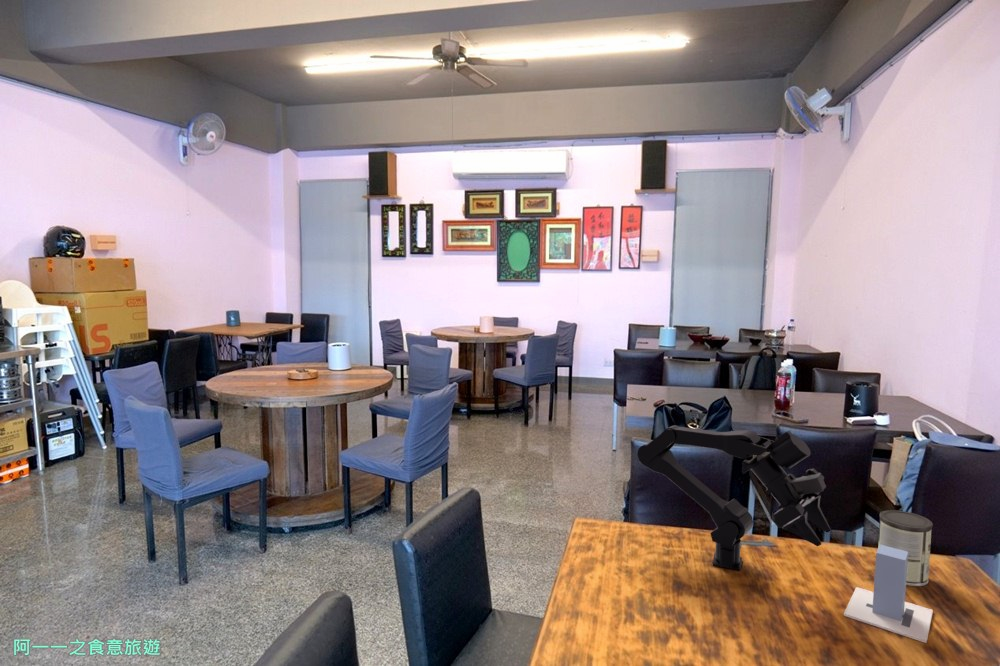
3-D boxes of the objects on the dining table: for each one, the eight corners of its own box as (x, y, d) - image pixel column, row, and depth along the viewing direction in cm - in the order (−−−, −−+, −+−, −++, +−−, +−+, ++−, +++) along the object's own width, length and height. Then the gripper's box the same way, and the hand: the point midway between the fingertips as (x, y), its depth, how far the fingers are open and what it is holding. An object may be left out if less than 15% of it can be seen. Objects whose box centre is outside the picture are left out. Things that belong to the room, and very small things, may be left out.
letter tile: (843, 615, 121) (843, 613, 121) (856, 589, 131) (856, 586, 131) (926, 643, 112) (926, 640, 111) (932, 612, 122) (932, 609, 122)
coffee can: (870, 562, 144) (874, 507, 143) (919, 568, 141) (923, 513, 139) (883, 582, 134) (887, 523, 133) (935, 590, 131) (940, 530, 130)
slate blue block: (872, 612, 121) (876, 552, 120) (876, 602, 125) (880, 544, 124) (901, 621, 118) (905, 560, 117) (904, 610, 122) (908, 551, 120)
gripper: (791, 470, 123) (847, 535, 117) (812, 450, 137) (863, 508, 131) (751, 496, 129) (802, 559, 123) (775, 475, 143) (822, 531, 137)
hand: (824, 538), depth 128 cm, fingers open, 9 cm apart
